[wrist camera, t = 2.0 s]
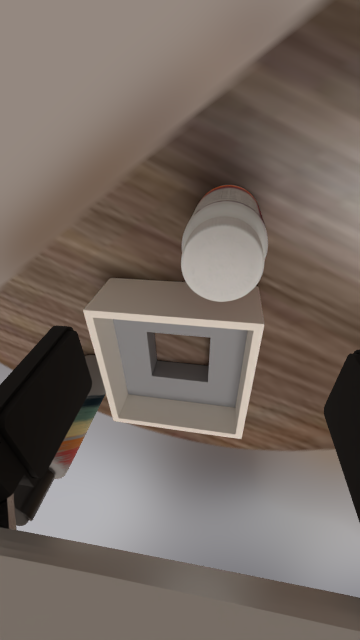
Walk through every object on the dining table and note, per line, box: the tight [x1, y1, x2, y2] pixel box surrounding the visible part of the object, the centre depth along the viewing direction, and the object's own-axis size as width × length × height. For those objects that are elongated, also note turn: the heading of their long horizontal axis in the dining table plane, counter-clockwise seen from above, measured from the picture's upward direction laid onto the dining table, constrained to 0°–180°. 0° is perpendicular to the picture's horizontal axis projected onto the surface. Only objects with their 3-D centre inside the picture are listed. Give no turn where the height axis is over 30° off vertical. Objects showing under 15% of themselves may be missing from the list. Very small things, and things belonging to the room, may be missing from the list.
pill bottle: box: [181, 185, 268, 302], centre depth 21 cm, size 6×6×11 cm
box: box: [83, 278, 264, 439], centre depth 33 cm, size 17×18×7 cm
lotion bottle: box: [13, 355, 106, 526], centre depth 33 cm, size 6×6×20 cm
